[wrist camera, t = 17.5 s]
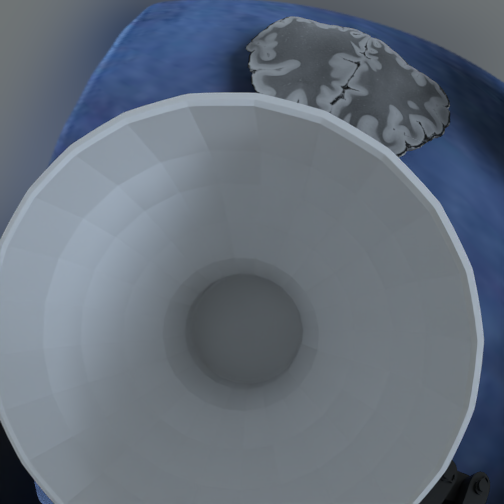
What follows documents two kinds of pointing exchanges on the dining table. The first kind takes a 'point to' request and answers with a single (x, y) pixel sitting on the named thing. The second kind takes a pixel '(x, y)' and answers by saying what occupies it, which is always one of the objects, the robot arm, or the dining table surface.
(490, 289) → the dining table surface
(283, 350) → the cup
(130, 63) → the dining table surface
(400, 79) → the brain slice
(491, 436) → the dining table surface
